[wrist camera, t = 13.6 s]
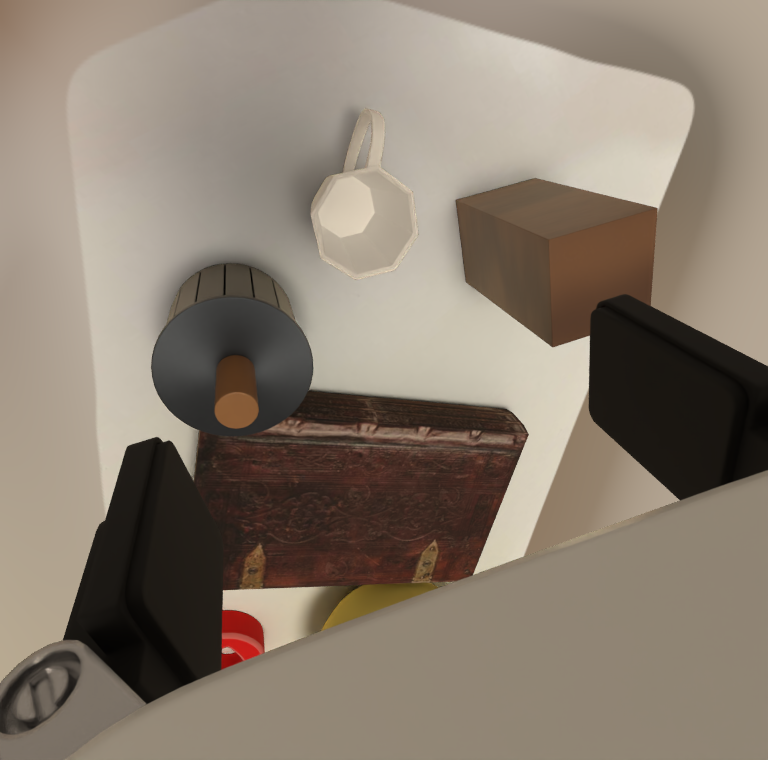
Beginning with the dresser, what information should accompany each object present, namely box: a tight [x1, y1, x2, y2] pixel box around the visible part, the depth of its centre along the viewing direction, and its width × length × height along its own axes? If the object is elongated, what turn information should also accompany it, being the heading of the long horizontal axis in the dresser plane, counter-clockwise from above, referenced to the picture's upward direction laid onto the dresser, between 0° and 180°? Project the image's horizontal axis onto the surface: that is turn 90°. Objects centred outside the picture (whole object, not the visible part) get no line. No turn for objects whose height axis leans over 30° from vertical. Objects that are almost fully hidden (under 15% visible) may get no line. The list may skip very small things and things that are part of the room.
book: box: [194, 391, 529, 590], centre depth 49 cm, size 29×19×5 cm, turn 76°
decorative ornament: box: [221, 611, 265, 670], centre depth 56 cm, size 10×10×3 cm
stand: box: [456, 178, 657, 347], centre depth 37 cm, size 7×7×14 cm
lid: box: [151, 295, 313, 437], centre depth 31 cm, size 10×10×6 cm
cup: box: [311, 108, 419, 280], centre depth 35 cm, size 7×10×8 cm
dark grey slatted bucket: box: [166, 263, 296, 324], centre depth 37 cm, size 9×9×8 cm
